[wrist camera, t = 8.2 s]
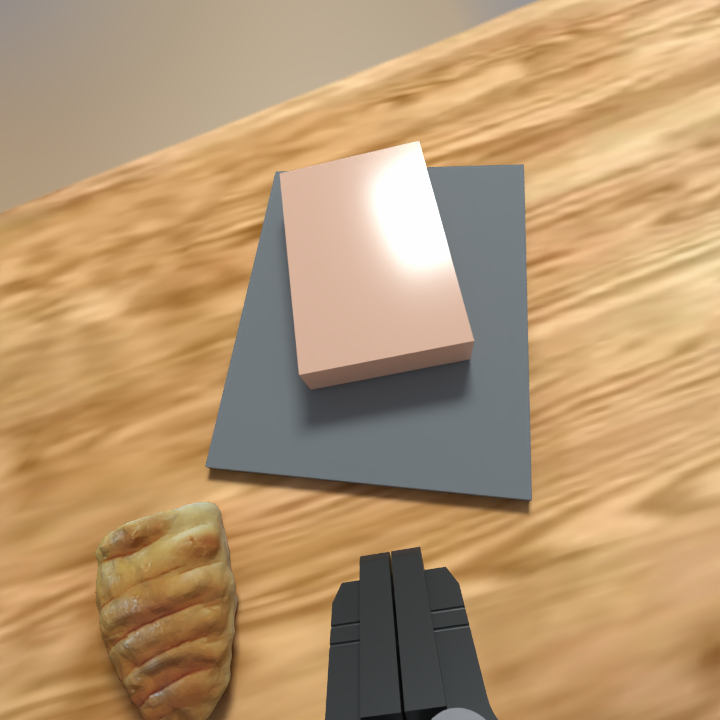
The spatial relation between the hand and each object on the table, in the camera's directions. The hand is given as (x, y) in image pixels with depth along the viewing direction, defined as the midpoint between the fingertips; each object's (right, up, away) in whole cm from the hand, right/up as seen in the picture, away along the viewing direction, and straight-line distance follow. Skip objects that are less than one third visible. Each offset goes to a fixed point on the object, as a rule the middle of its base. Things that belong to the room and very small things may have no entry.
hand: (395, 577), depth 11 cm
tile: (+1, +5, +13) cm, 14 cm away
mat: (0, +9, +16) cm, 19 cm away
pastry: (-10, -7, +12) cm, 17 cm away
